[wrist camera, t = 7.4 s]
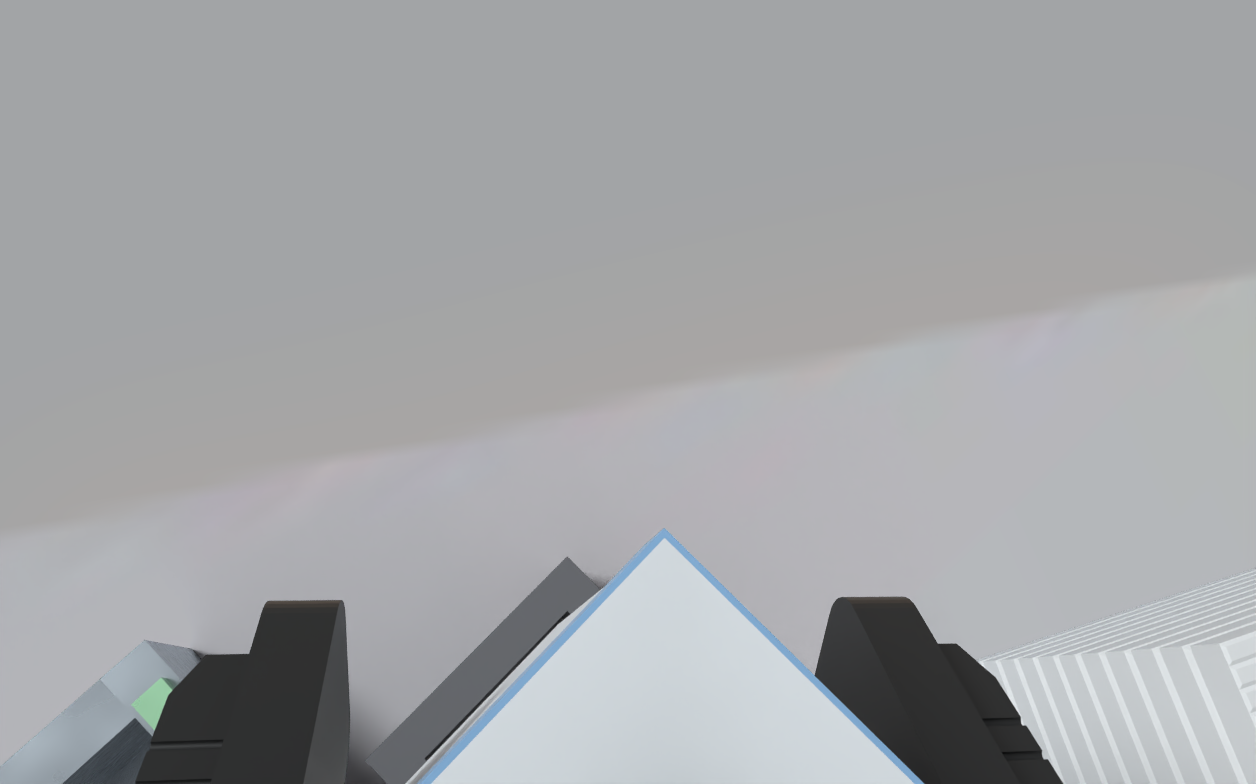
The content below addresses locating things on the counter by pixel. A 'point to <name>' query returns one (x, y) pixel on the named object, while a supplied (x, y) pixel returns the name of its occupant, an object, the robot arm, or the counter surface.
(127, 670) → the port
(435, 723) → the holster
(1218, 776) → the stack of papers
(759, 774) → the plug
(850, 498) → the counter surface
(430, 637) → the counter surface
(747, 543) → the counter surface
